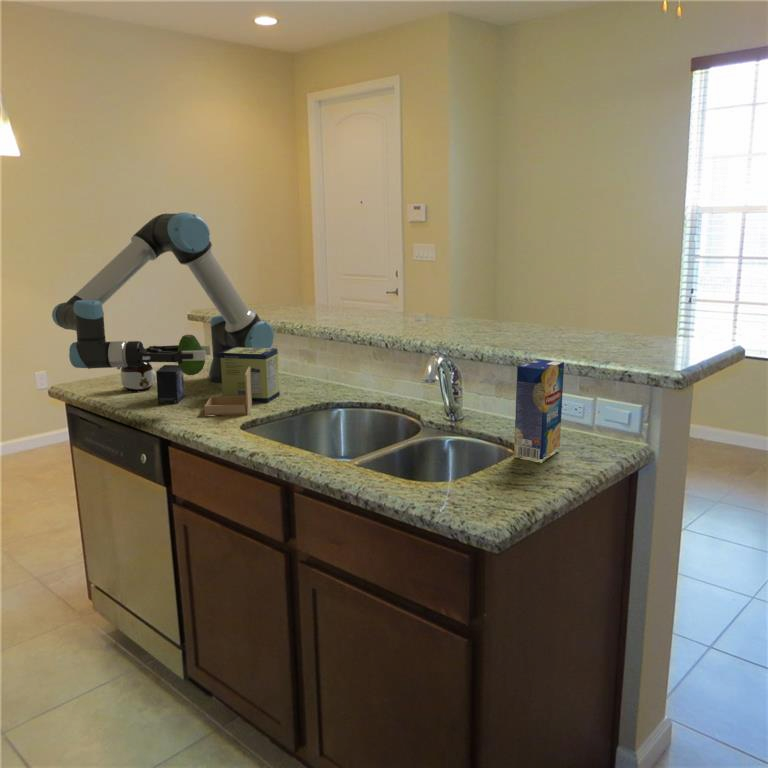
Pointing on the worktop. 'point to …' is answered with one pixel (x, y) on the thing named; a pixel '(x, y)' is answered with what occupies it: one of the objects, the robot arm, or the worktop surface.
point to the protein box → (261, 369)
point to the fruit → (190, 345)
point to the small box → (170, 384)
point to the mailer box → (231, 402)
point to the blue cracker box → (538, 408)
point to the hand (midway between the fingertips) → (207, 352)
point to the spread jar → (138, 377)
